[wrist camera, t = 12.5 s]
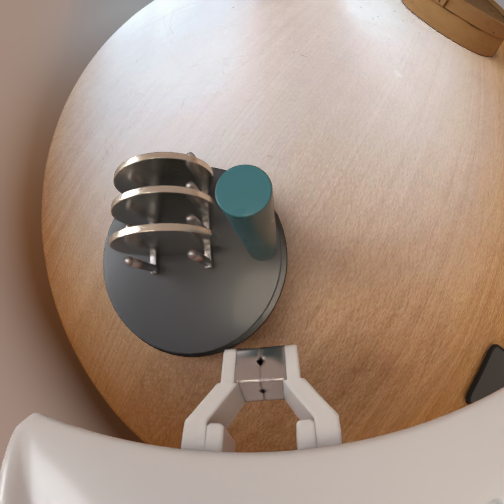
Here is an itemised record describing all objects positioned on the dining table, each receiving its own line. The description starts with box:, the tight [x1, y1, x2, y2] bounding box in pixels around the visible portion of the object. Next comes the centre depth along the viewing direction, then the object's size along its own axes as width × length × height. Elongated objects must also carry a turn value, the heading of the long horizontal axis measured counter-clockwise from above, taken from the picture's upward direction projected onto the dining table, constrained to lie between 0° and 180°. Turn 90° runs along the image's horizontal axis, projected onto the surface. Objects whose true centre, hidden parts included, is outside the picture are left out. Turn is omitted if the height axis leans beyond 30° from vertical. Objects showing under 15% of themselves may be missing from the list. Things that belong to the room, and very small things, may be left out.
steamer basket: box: [402, 0, 504, 56], centre depth 24 cm, size 25×25×11 cm
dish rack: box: [103, 152, 281, 354], centre depth 18 cm, size 17×17×13 cm
